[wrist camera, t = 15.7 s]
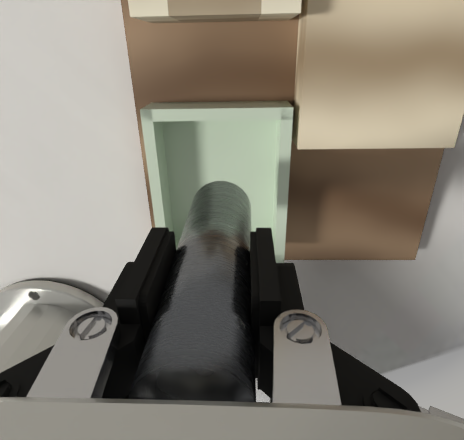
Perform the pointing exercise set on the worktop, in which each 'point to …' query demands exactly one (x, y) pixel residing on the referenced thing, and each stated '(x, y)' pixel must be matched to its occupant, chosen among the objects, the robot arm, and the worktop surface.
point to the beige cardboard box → (379, 74)
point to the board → (302, 160)
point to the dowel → (205, 308)
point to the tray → (219, 158)
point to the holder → (213, 10)
